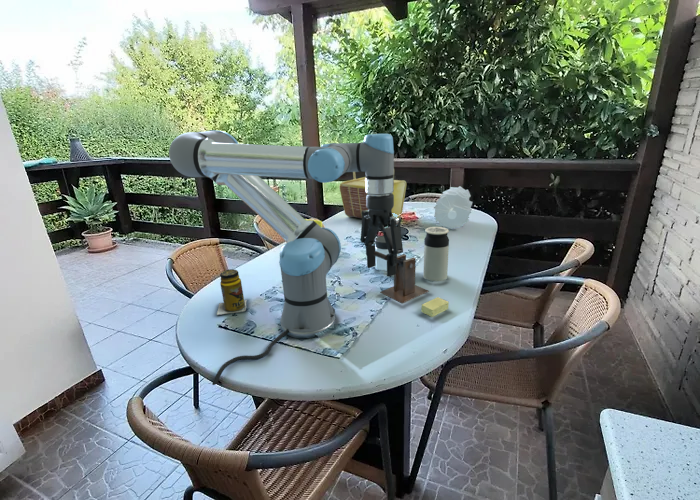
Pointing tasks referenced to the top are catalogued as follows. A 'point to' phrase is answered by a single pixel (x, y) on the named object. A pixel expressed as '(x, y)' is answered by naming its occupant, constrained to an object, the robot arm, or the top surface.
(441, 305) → the butter
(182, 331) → the top surface
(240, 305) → the condiment
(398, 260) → the lever
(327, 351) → the top surface
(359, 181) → the picnic basket
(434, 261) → the travel mug
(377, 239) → the jar
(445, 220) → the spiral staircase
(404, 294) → the wooden lever stand
